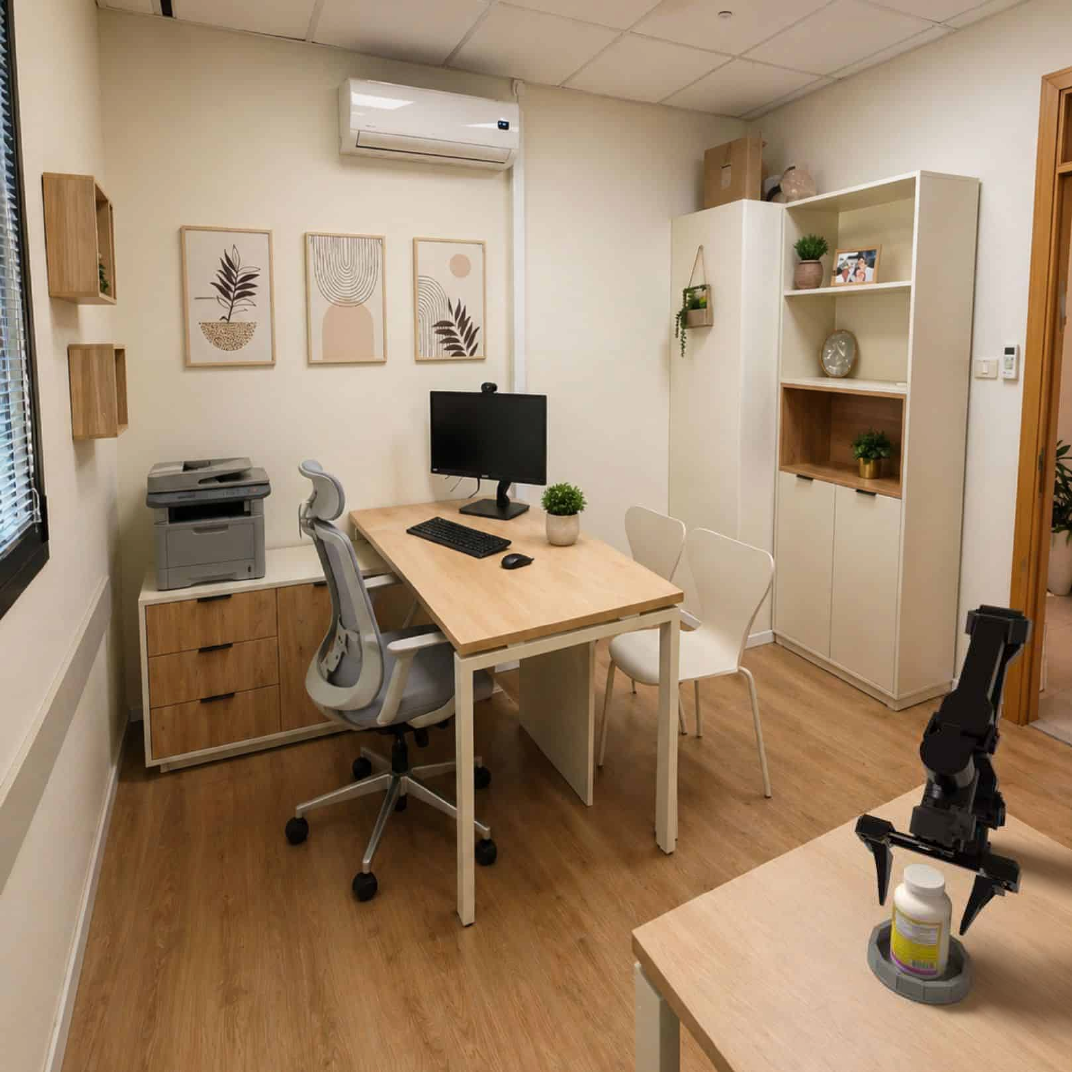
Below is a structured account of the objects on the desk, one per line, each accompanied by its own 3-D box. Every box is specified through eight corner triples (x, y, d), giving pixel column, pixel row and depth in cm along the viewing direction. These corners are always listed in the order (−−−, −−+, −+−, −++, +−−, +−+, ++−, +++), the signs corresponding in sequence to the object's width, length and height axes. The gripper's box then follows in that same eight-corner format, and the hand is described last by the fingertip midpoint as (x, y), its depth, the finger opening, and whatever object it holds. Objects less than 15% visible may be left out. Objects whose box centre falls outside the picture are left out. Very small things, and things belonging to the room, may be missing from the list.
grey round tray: (878, 921, 113) (879, 906, 112) (976, 955, 106) (978, 938, 106) (857, 979, 103) (858, 963, 103) (964, 1020, 97) (966, 1002, 96)
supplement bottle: (913, 936, 109) (920, 852, 106) (958, 969, 103) (967, 881, 100) (877, 955, 106) (884, 869, 103) (921, 990, 101) (929, 900, 97)
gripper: (863, 758, 107) (831, 877, 101) (1028, 803, 96) (1002, 939, 90) (877, 784, 115) (847, 896, 109) (1030, 829, 104) (1006, 956, 98)
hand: (920, 919), depth 102 cm, fingers open, 9 cm apart
